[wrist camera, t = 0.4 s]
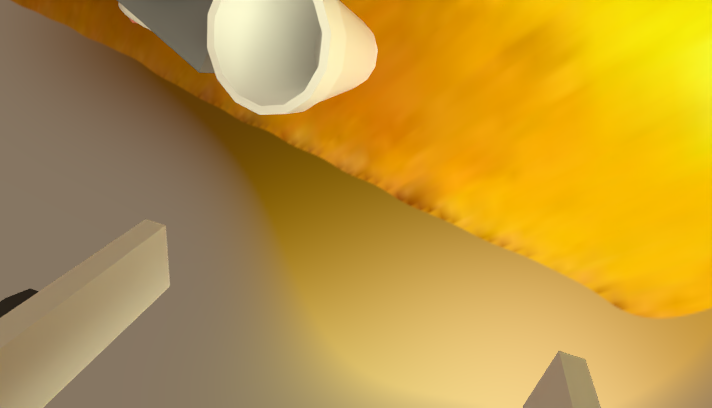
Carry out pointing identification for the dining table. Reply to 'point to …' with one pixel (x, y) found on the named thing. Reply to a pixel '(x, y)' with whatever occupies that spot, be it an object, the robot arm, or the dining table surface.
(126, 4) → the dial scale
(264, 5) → the foam cup
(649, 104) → the dining table surface
